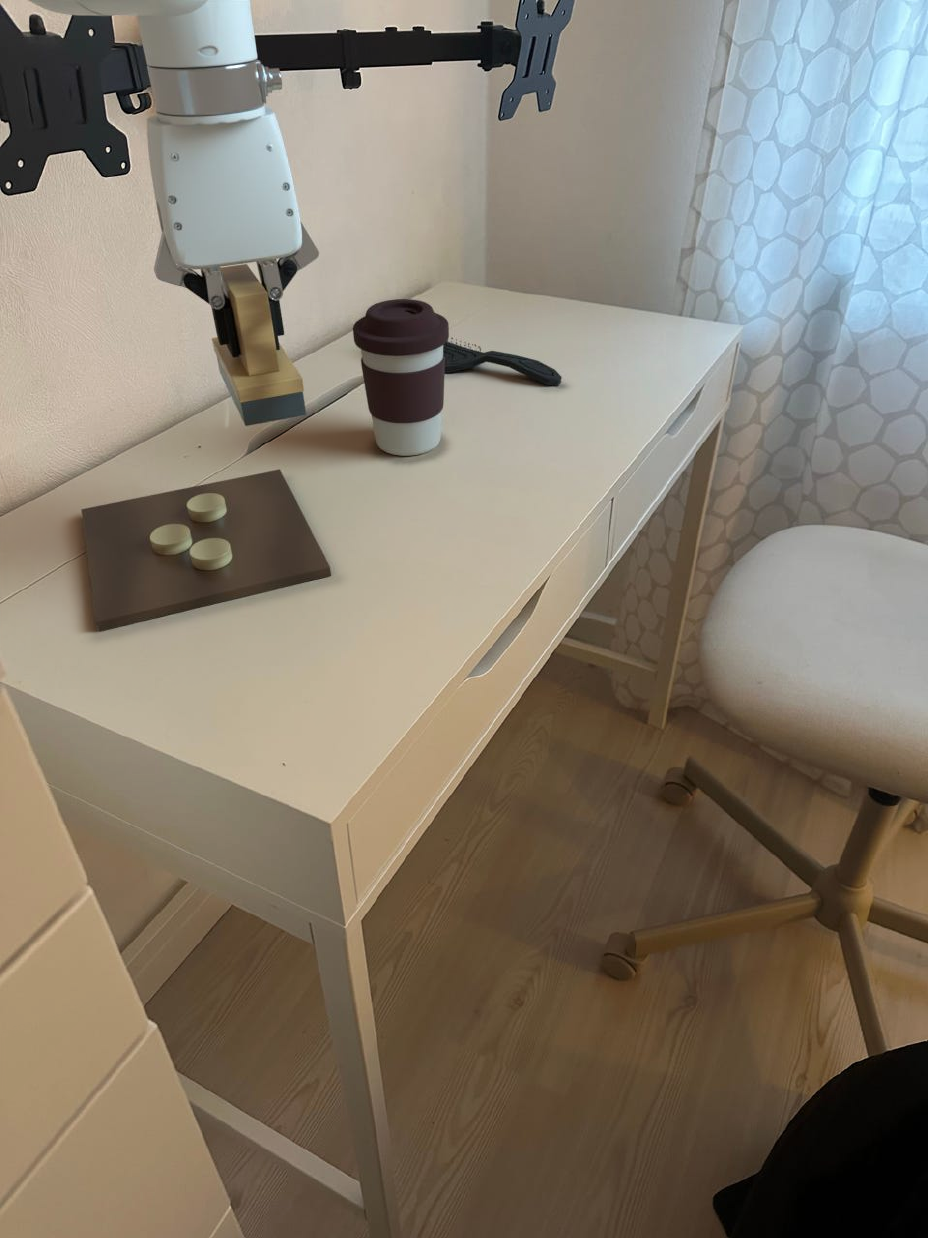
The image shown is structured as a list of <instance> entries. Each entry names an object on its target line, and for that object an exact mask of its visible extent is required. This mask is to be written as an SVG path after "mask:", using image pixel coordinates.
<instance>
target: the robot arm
mask: <svg viewBox="0 0 928 1238" xmlns="http://www.w3.org/2000/svg"><path fill="white" fill-rule="evenodd" d="M27 1H28V2H30V3H32V4H34V5H36V6H38V7H39V8H42V9H43V10H47V11H50V12H52V13H57V14H62V15H68V16H93V17H94V16H95V17H112V16H136V20H137V24H138V29H139V34H140V39H141V43H142V49H143V53H144V57H145V58H144V59H145V62H146V63H145V64H146V65H147V66H146V69H147V73H148V78H149V83H150V87H151V88H150V89H151V93H152V98H153V101H154V102H153V103H154V107H155V112H156V115H152V116H149V117H147V118H146V137H147V138H146V139H147V140H146V141H147V151H148V161H149V167H150V175H151V180H152V181H151V182H152V187H153V193H154V194H153V195H154V200H155V204H156V209H157V215H158V222H159V226H160V230H161V235H160V240H159V244H158V248H157V253H156V257H155V261H154V265H153V272H154V274H155V277H156V278H157V280H159V281H161V282H164V283H167V284H171V285H174V286H177V287H182V288H184V289H187V290H189V291H190V292H191V293H193V294H194V295H196V296H197V297H198V298H200V299H201V300H203V301H204V302H205V303H206V304H208V305H210V308H211V313H212V317H213V322H214V328H215V333H216V337H218V341H219V344H220V345H226V344H227V347H228V349H229V351H230V353H231V355H232V357H233V358H234V357H239V355H241V352H240V346H239V341H238V336H237V330H236V325H235V319H234V314H233V310H232V308H231V306H230V304H229V302H228V298H227V297H226V295H225V293H224V290H223V283H222V275H221V267H228V266H235V265H243V264H251V263H256V267H257V272H258V277H259V282H260V283H261V285H262V286H263V287H264V289H265V290H266V292H267V294H268V301H269V307H270V313H271V319H272V326H273V332H274V338H275V344H276V350H280V346H279V343H280V342H279V337H282V336H284V335H285V328H284V322H283V314H282V309H281V302H280V300H281V299H282V298H283V295H284V291H285V290H286V288H287V287H288V286H289V284H290V283H291V282H292V280H293V278H294V277H295V276H296V274H297V273H298V272H299V271H300V270H303V269H304V268H306V267H307V266H309V264H311V263H313V262H314V261H316V260H317V259H318V258H319V255H320V251H319V249H318V247H317V246H316V244H315V243H314V241H313V239H312V238H311V236H310V234H309V233H308V231H307V230H306V227H305V226H304V225H303V223H302V221H301V217H300V216H301V215H300V210H299V206H298V199H297V195H296V190H295V186H294V181H293V176H292V171H291V168H290V162H289V157H288V153H287V150H286V146H285V142H284V138H283V135H282V132H281V128H280V125H279V122H278V119H277V116H276V113H275V110H274V109H273V108H271V107H267V106H266V105H265V104H267V97H269V95H268V94H271V93H273V91H278V90H279V91H280V90H282V89H283V79H282V74H281V70H280V68H279V67H277V68H269V66H264V64H262V62H261V60H259V59H258V52H257V51H258V50H257V44H256V37H255V30H254V29H255V28H254V22H253V15H252V8H251V0H27ZM277 259H278V260H277ZM196 270H200V274H199V273H198V272H196Z"/></svg>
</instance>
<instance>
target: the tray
mask: <svg viewBox="0 0 928 1238" xmlns="http://www.w3.org/2000/svg"><path fill="white" fill-rule="evenodd" d="M205 493H215V494H219V495H221V496H223V497H224V499H225V504H226V509H227V512H226V514H225V515H224V516H223V517H221V518H220V519H217V520H215V521H211V522H196V521H193V520H192V519H191V518H190V517H189V513H188V509H187V503H188V501H189V500H190V499H191V498H193V497H195V496H197V495H200V494H205ZM81 518H82V525H83V532H84V540H85V546H86V547H85V551H86V557H87V562H88V563H87V564H88V573H89V580H90V589H91V596H92V604H93V613H94V621H95V625H96V628H97V630H98V632H102V631H103V632H104V631H107V630H112V629H115V628H120V627H123V626H124V627H125V626H128V625H132V624H136V623H141V622H144V621H145V622H146V621H149V620H153V619H157V618H161V617H166V616H169V615H173V614H178V613H182V612H186V611H190V610H195V609H199V608H202V607H207V606H211V605H215V604H220V603H222V602H227V601H232V600H236V599H240V598H245V597H249V596H253V595H256V594H261V593H265V592H269V591H274V590H278V589H282V588H286V587H290V586H294V585H298V584H299V585H300V584H302V583H307V582H311V581H316V580H320V579H324V578H328V577H332V571H331V566H330V563H329V561H327V558H326V556H325V554H324V552H323V550H322V548H321V547H320V544H319V543H318V542H319V541H317V538H316V536H315V535H314V532H313V531H312V529H311V527H310V525H309V523H308V521H307V519H306V517H305V516H304V513H303V511H302V509H301V507H300V505H299V503H298V502H297V499H296V498H295V496H294V494H293V492H292V490H291V487H290V486H289V484H288V482H287V481H286V478H285V476H284V474H283V472H282V470H281V469H280V468H279V469H274V470H268V471H264V472H259V473H255V474H248V475H244V476H240V477H234V478H229V479H223V480H219V481H214V482H210V483H204V484H200V485H194V486H189V487H185V488H184V487H183V488H179V489H174V490H170V491H165V492H160V493H155V494H150V495H145V496H140V497H136V498H135V497H134V498H131V499H126V500H121V501H115V502H111V503H110V502H109V503H106V504H101V505H96V506H90V507H85V508H81ZM169 524H181V525H185V526H187V527H188V528H189V530H190V533H191V537H192V545H191V546H190V547H189V548H188V549H187V550H185V551H184V552H181V553H178V554H175V555H160V554H157V553H155V552H154V551H153V548H152V545H151V541H150V535H151V533H152V532H153V531H154V530H155V529H157V528H159V527H161V526H164V525H169ZM209 538H221V539H224V540H226V541H228V542H229V544H230V547H231V551H232V560H231V561H230V562H229V563H228V564H227V565H226V566H224V567H222V568H219V569H215V570H200V569H197V568H195V567H194V566H193V564H192V561H191V557H190V553H189V551H190V548H191V547H192V546H193V545H194V544H195V543H197V542H199V541H201V540H204V539H209Z"/></svg>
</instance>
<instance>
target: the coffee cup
mask: <svg viewBox="0 0 928 1238" xmlns="http://www.w3.org/2000/svg"><path fill="white" fill-rule="evenodd" d="M449 326H450V324H449V321H448V319H447V318H446V317H444V316H443V315H441V314H439V313H437V312H435V310H434V307H432V305H431V304H429V303H427V302H426V301H423V300H417V299H412V298H411V299H410V298H396V299H389V300H388V299H387V300H383V301H379V302H377V303H374V304H372V305H371V306H370V307H368V308H367V310H366V312H365V315H364V316H362V317H361V318H359V319H358V320H357V321H355V323H354V324H353V326H352V335H353V336H352V337H353V342H354V345H355V346H356V347H357V348H359V349H360V353H361V358H360V365H361V372H362V378H363V384H364V389H365V395H366V402H367V407H368V408H367V409H368V411H369V413H370V415H371V420H372V425H373V432H374V438H375V442H376V445H377V446H378V448H379V449H380V450H382V451H383V452H385V453H387V454H390V455H395V456H403V457H404V456H405V457H407V456H408V457H409V456H418V455H421V454H422V455H423V454H425V453H428V452H430V451H432V450H434V449H435V448H436V447H437V446H438V445H439V443H440V441H441V436H442V411H443V409H444V402H445V401H444V400H445V399H444V398H445V373H446V372H445V356H444V353H443V345H444V344H445V343H446V342H448V341H449V337H450V327H449ZM447 340H448V341H447Z"/></svg>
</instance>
